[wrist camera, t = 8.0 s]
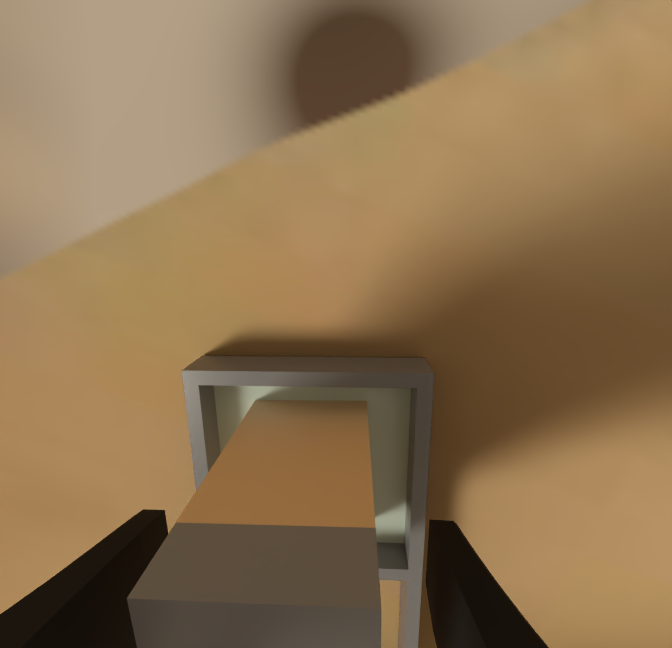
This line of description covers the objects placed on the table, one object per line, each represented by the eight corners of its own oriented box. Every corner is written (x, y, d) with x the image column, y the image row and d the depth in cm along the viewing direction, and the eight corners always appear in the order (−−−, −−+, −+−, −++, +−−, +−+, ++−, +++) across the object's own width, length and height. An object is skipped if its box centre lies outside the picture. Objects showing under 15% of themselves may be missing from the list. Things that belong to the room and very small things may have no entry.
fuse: (367, 520, 13) (379, 820, 6) (265, 517, 13) (169, 803, 6) (366, 400, 12) (381, 608, 5) (255, 400, 12) (126, 598, 5)
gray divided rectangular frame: (407, 681, 15) (413, 727, 14) (235, 670, 16) (223, 713, 14) (424, 357, 12) (434, 373, 10) (202, 355, 12) (181, 370, 11)
